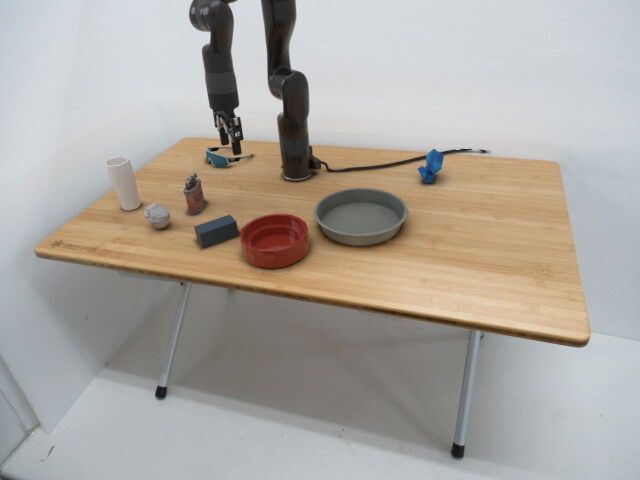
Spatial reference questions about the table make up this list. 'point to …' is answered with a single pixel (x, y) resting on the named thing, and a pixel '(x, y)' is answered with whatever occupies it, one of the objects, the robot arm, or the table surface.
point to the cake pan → (360, 215)
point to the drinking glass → (123, 182)
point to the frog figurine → (157, 215)
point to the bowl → (274, 240)
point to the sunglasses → (221, 157)
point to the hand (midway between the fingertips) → (231, 149)
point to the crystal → (431, 165)
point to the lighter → (194, 194)
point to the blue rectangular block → (216, 231)
